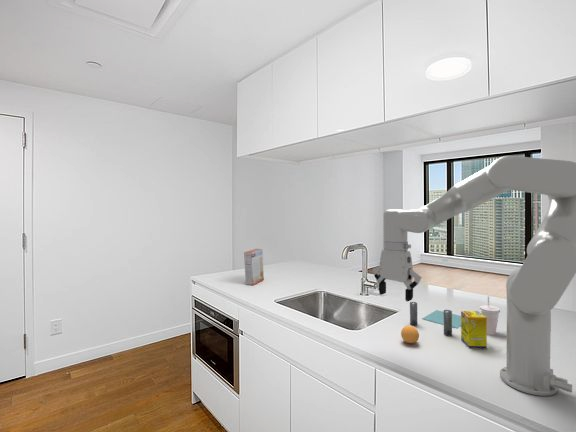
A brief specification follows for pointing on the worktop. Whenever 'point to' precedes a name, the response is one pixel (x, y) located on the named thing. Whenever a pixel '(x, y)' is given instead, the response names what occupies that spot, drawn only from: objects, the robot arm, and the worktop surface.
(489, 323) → the smoothie
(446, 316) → the post right
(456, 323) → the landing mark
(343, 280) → the worktop surface
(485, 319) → the supplement box
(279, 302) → the worktop surface
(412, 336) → the ball
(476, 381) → the worktop surface
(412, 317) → the post left
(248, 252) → the cracker box
